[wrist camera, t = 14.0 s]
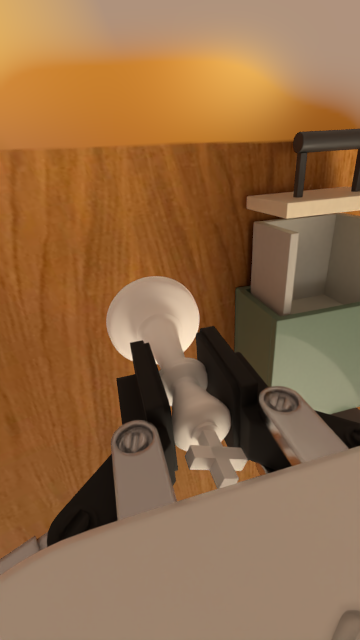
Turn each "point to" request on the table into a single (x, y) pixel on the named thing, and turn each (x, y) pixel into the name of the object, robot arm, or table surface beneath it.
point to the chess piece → (177, 370)
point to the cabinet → (303, 350)
